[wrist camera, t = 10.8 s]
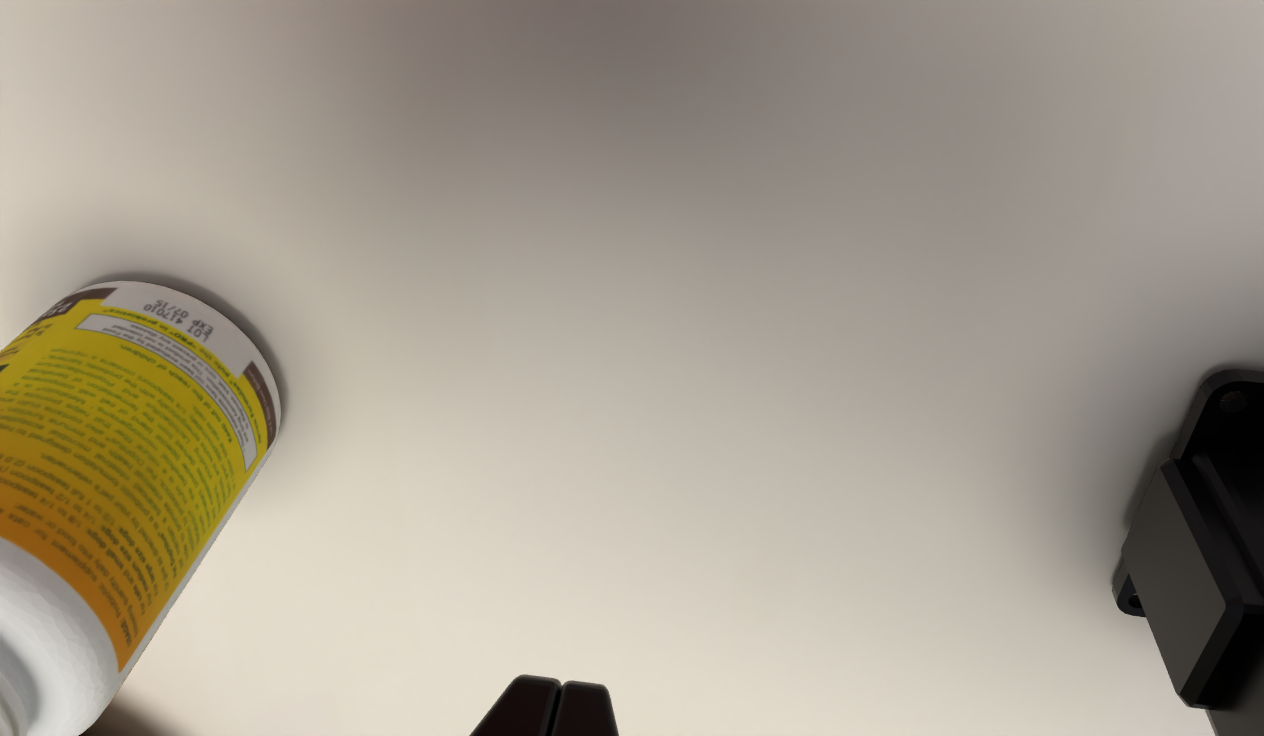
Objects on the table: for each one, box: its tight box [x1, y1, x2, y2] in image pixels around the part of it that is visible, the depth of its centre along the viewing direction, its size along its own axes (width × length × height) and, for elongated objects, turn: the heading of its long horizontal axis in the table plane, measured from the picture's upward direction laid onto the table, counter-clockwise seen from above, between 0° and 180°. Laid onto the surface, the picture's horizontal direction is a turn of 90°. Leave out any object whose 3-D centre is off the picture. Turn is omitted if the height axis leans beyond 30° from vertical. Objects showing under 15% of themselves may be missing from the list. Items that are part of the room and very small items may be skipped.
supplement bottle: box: [0, 281, 281, 736], centre depth 19 cm, size 6×6×10 cm
